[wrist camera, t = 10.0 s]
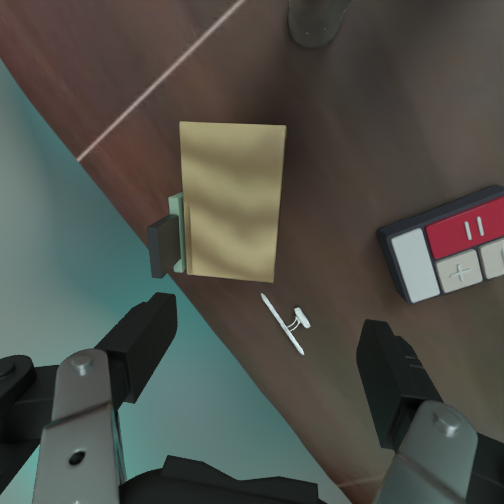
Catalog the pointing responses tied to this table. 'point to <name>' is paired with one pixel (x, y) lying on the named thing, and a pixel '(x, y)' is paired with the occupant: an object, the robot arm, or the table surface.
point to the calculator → (447, 246)
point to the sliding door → (168, 240)
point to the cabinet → (232, 198)
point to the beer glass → (315, 21)
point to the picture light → (300, 319)
